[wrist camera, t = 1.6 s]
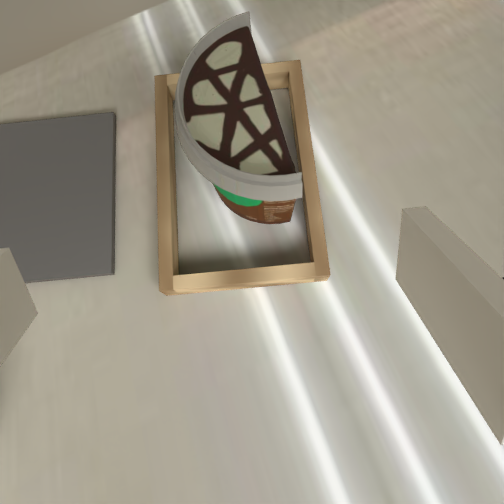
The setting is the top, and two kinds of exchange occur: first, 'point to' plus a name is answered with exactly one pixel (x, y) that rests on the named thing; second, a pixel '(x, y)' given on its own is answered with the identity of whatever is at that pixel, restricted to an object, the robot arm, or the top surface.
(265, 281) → the oak frame
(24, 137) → the charcoal mat
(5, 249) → the robot arm
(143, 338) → the top surface
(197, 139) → the food container
